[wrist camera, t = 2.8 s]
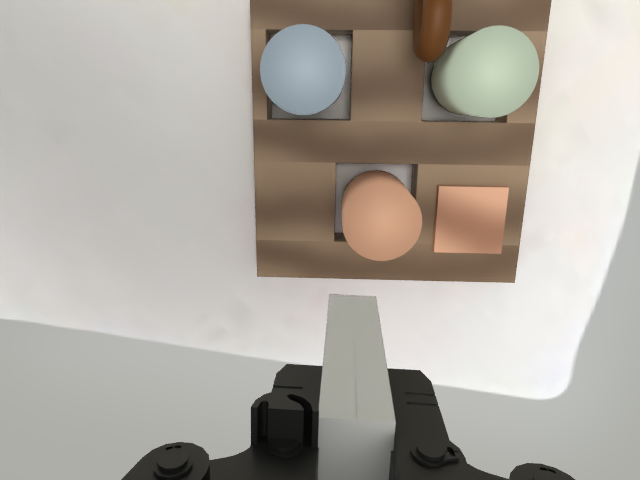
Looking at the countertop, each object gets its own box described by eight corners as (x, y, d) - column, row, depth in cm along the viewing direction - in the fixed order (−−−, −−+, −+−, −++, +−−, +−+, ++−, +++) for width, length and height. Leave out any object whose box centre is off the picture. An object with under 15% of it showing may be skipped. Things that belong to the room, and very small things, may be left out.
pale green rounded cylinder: (434, 38, 33) (454, 25, 27) (508, 38, 33) (544, 25, 27) (428, 114, 34) (446, 117, 29) (500, 115, 34) (532, 118, 28)
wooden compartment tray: (256, 4, 35) (248, -5, 32) (536, 5, 34) (555, -4, 31) (261, 266, 41) (255, 279, 38) (504, 271, 40) (517, 285, 37)
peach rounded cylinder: (342, 169, 36) (343, 182, 30) (410, 170, 35) (424, 184, 30) (340, 235, 37) (341, 260, 31) (406, 236, 37) (419, 261, 31)
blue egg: (272, 37, 33) (259, 23, 28) (345, 37, 33) (347, 24, 27) (273, 112, 35) (260, 114, 29) (343, 113, 35) (344, 115, 29)
